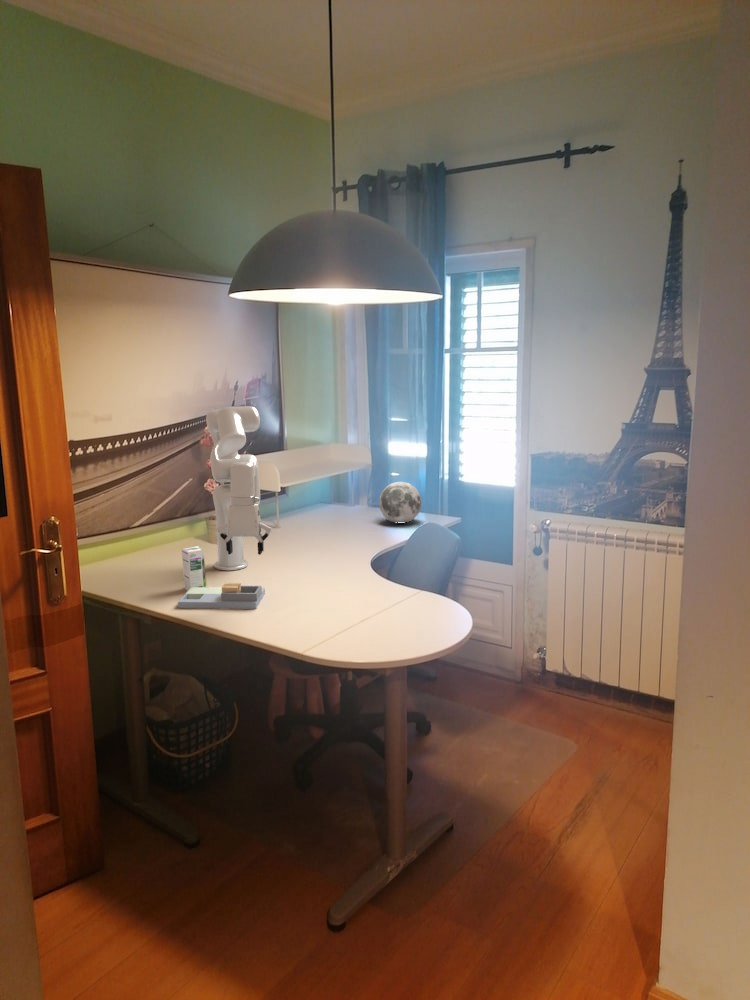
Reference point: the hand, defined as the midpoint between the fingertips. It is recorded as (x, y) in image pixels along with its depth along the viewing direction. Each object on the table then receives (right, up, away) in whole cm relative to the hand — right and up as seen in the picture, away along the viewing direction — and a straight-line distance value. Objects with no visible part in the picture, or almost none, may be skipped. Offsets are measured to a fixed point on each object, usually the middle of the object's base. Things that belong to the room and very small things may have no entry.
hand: (245, 553), depth 235 cm
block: (-5, -14, +3) cm, 16 cm away
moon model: (+54, +6, +115) cm, 127 cm away
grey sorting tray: (-8, -16, +6) cm, 19 cm away
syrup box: (-20, -14, +18) cm, 30 cm away
